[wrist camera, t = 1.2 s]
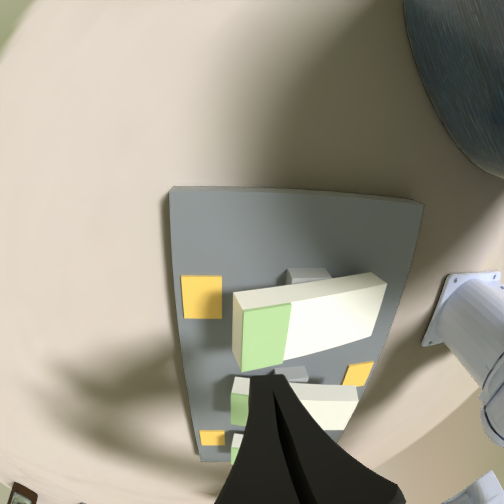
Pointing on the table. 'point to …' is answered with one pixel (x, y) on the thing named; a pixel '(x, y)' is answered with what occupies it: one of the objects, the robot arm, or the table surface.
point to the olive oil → (22, 495)
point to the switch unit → (276, 282)
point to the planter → (463, 71)
